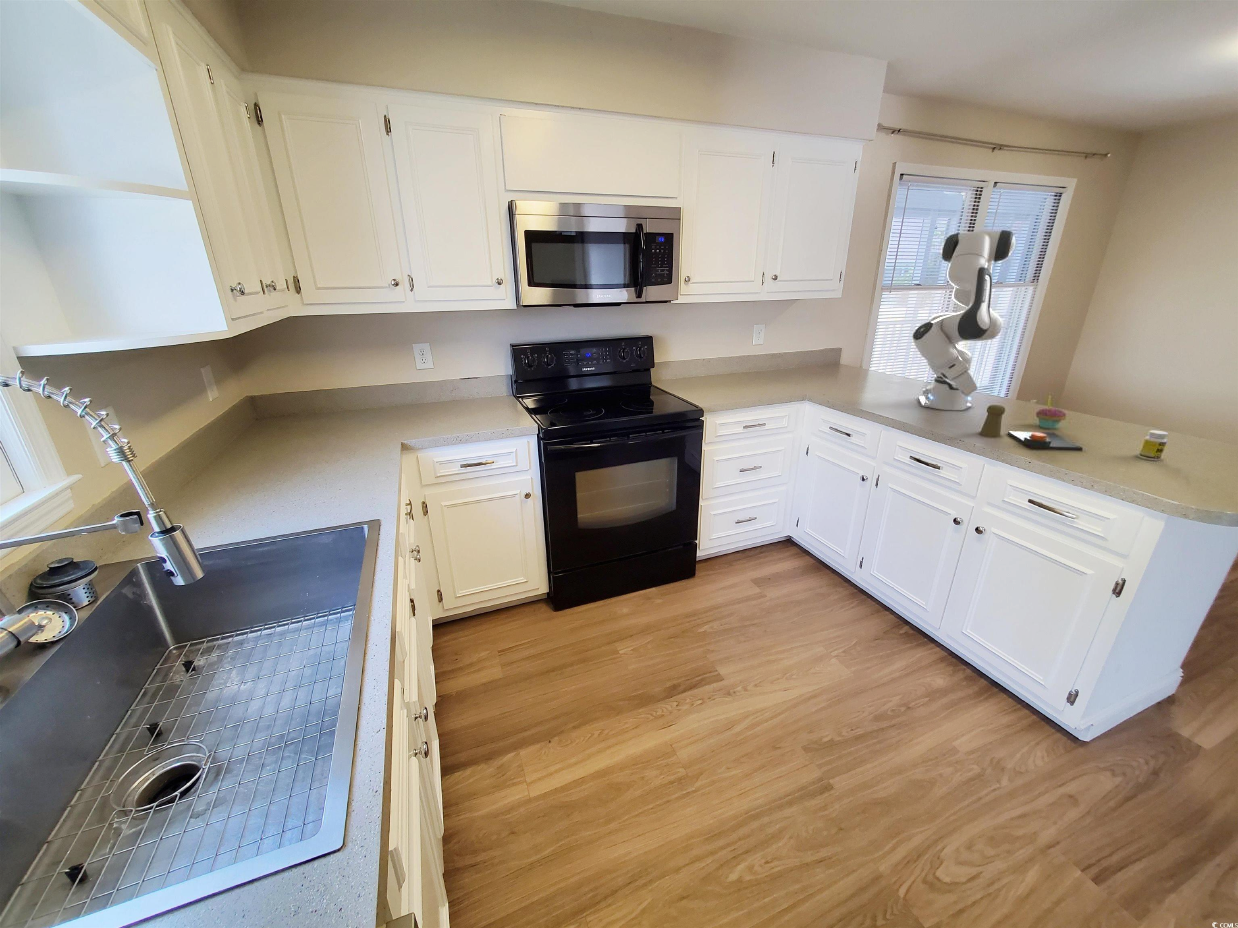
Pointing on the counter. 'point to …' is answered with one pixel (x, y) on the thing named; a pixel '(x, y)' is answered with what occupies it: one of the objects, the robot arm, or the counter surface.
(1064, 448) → the scale
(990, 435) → the cork
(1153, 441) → the supplement bottle
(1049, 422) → the cupcake
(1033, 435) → the tare button
